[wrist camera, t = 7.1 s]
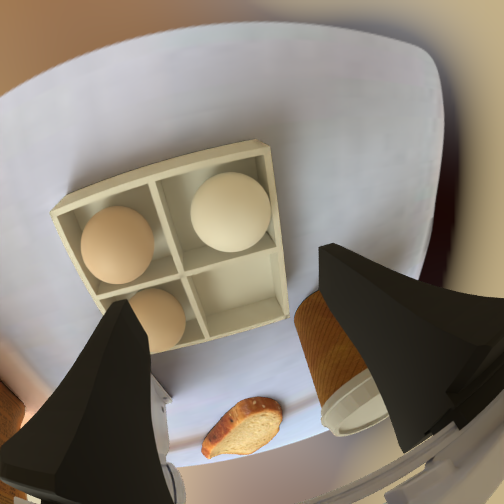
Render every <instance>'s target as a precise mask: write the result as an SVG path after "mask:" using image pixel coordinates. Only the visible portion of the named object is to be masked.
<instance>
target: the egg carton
mask: <svg viewBox="0 0 504 504" xmlns="http://www.w3.org/2000/svg"><path fill="white" fill-rule="evenodd" d="M225 172H237V173H242V174H245V175H247V176H249V177H251V178H253V179H254V180H256V181H257V182H258V183H259V184H260V185H261V186H262V187H263V189H264V190H265V192H266V194H267V195H268V198H269V201H270V205H271V218H270V223H269V226H268V228H267V230H266V232H265V234H264V235H263V237H262V238H261V239H260V240H259V241H258V242H257V243H256V244H254V245H253V246H251V247H249V248H247V249H245V250H242V251H238V252H223V251H219V250H216V249H214V248H212V247H210V246H208V245H207V244H206V243H204V242H203V241H202V240H201V239H200V237H199V236H198V235H197V233H196V232H195V230H194V227H193V225H192V221H191V203H192V200H193V197H194V195H195V193H196V191H197V190H198V188H199V187H200V186H201V185H202V184H203V183H204V182H205V181H206V180H208V179H209V178H211V177H212V176H215V175H217V174H220V173H225ZM111 206H124V207H128V208H131V209H133V210H135V211H137V212H138V213H140V214H141V215H142V216H143V217H144V218H145V219H146V221H147V222H148V224H149V225H150V227H151V229H152V232H153V236H154V254H153V257H152V260H151V262H150V264H149V266H148V268H147V269H146V270H145V272H144V273H143V274H142V275H141V276H139V277H138V278H136V279H135V280H133V281H131V282H128V283H124V284H110V283H106V282H104V281H102V280H100V279H98V278H97V277H95V276H94V275H93V274H92V273H91V272H90V271H89V269H88V268H87V266H86V265H85V263H84V260H83V257H82V254H81V237H82V233H83V230H84V228H85V226H86V224H87V223H88V221H89V220H90V219H91V218H92V216H93V215H95V214H96V213H97V212H99V211H100V210H102V209H105V208H107V207H111ZM49 213H50V215H51V218H52V220H53V223H54V225H55V227H56V229H57V232H58V234H59V236H60V238H61V240H62V242H63V244H64V246H65V248H66V251H67V253H68V255H69V257H70V259H71V260H72V262H73V264H74V266H75V268H76V270H77V272H78V274H79V276H80V277H81V279H82V281H83V283H84V284H85V286H86V288H87V290H88V291H89V293H90V295H91V297H92V298H93V300H94V302H95V303H96V305H97V306H98V308H99V310H100V311H101V313H102V314H103V316H104V314H105V312H106V311H107V309H108V308H109V306H110V305H111V304H112V302H115V301H119V300H123V299H127V300H128V301H129V300H130V299H131V297H132V296H134V295H135V294H136V293H138V292H140V291H142V290H145V289H151V288H153V289H161V290H164V291H166V292H168V293H170V294H171V295H173V296H174V297H175V298H176V299H177V300H178V301H179V303H180V304H181V306H182V308H183V310H184V313H185V318H186V325H185V331H184V333H183V336H182V337H181V339H180V341H179V342H178V343H177V344H176V345H175V346H174V347H172V348H170V349H169V350H174V349H178V348H182V347H186V346H191V345H195V344H199V343H203V342H207V341H210V340H214V339H218V338H222V337H226V336H229V335H233V334H236V333H240V332H244V331H247V330H250V329H254V328H257V327H261V326H264V325H267V324H271V323H274V322H277V321H280V320H283V319H287V318H290V315H289V304H288V293H287V283H286V273H285V264H284V255H283V245H282V237H281V228H280V219H279V211H278V203H277V195H276V187H275V179H274V172H273V165H272V157H271V150H270V146H268V145H267V144H265V143H263V142H261V141H259V140H257V139H253V140H247V141H242V142H237V143H233V144H228V145H223V146H219V147H215V148H210V149H206V150H202V151H198V152H194V153H190V154H186V155H182V156H179V157H175V158H171V159H168V160H164V161H161V162H158V163H154V164H151V165H148V166H145V167H141V168H138V169H135V170H132V171H129V172H126V173H123V174H120V175H117V176H114V177H112V178H109V179H106V180H103V181H101V182H98V183H95V184H93V185H90V186H87V187H85V188H82V189H80V190H77V191H75V192H72V193H70V194H68V195H66V196H65V197H64V198H63V199H62V200H61V201H60V202H59V203H58V204H57V205H56V206H55V207H54V208H53V209H52V210H51V211H50V212H49ZM169 350H166V351H169ZM163 352H165V351H163ZM156 353H160V352H150V355H151V354H156Z"/></svg>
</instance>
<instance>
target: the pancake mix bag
mask: <svg viewBox="0 0 504 504" xmlns="http://www.w3.org/2000/svg"><path fill="white" fill-rule="evenodd" d="M24 415H25V406H24V404H23V402H22V401H21V400H19V399H18V398H17V397H16V396H15V395H14V394H13V393H12V392H11V391H10V390H9V389H8V388H7V387H6V386H5V385H4V384H3V383H2V382H1V381H0V448H1V445H3V444H4V443H5V442H6V441H7V440H9V439H10V438H11V437H12V436H13V435H14V434H15V433H17V432H18V431H19V430H20V426H21V423H22V421H23V418H24ZM15 496H16V497H18V498H21V499H24V500H27V494H26V493H24V492H22V491H20V490H18V489H15V488H13V487H11V486H9V485H8V484H6V483H4V482H2V481H1V480H0V504H14V497H15ZM27 501H28V500H27Z"/></svg>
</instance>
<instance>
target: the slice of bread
mask: <svg viewBox="0 0 504 504" xmlns="http://www.w3.org/2000/svg"><path fill="white" fill-rule="evenodd" d="M282 418H283V417H282V409H281V406H280V405H279V404H278V402H277V401H275V400H273V399H270V398H266V397H252V398H248V399H244V400H242V401H240V402H238V403H237V404H236V405H235V406H234V407H232V408H231V409H230V410H229V411H228V412H226V413H225V415H224V416H223V417H222V418H221V419H220V421H219V422H218V423H217V424H216V426H214V427H213V429H212V430H211V431H210V433H209V434H208V435H207V437H206V438H205V439H204V441H203V443H202V449H201V452H202V454H203V455H204V456H205V457H206V458H208V459H211V458H212V457H214V456H217V455H220V454H239V455H247V454H252V453H253V452H255V451H256V450H258V449H259V448H261V447H262V446H264V445H266V444H267V443H268V442H269V441H270V440H272V438H273V437H274V436H275V435H276V434H277V433H278V431H279V425H280V423H281V422H282Z"/></svg>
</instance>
